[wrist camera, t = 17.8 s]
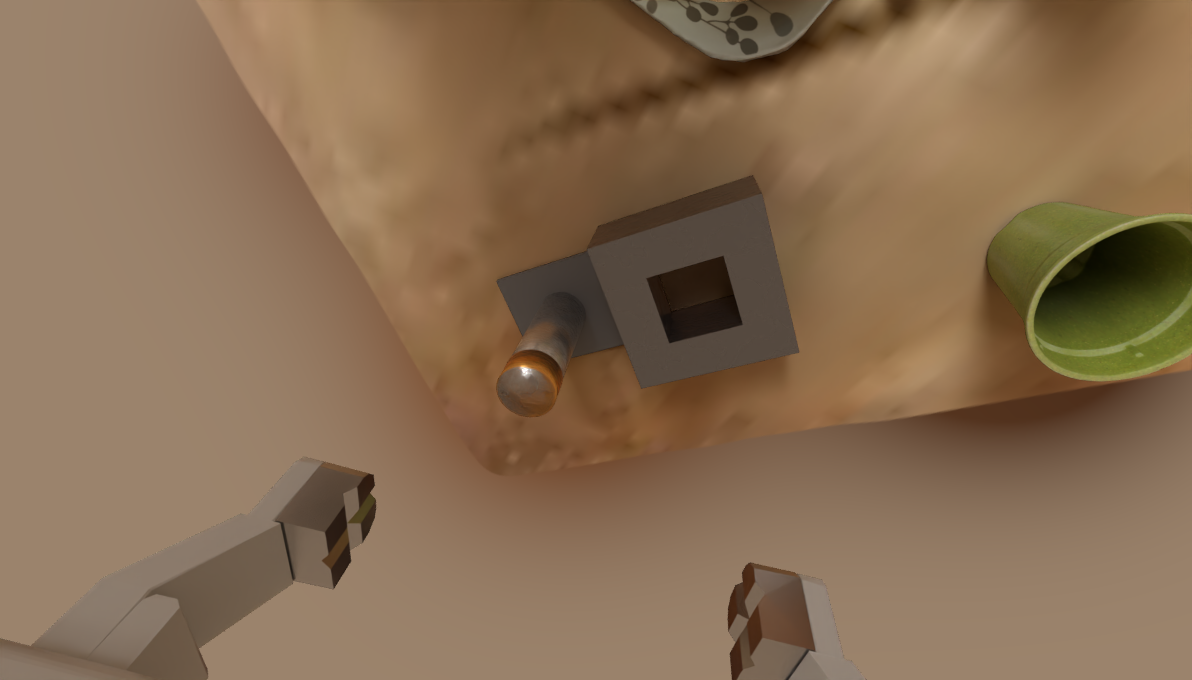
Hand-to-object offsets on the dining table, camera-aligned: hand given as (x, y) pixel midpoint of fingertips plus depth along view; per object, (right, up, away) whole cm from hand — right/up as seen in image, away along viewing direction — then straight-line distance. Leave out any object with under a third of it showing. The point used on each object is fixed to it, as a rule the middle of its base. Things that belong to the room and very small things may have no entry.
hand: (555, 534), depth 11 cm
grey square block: (+8, +9, +28) cm, 30 cm away
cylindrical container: (-2, +6, +30) cm, 31 cm away
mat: (-2, +6, +31) cm, 31 cm away
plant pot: (+30, +10, +24) cm, 39 cm away
